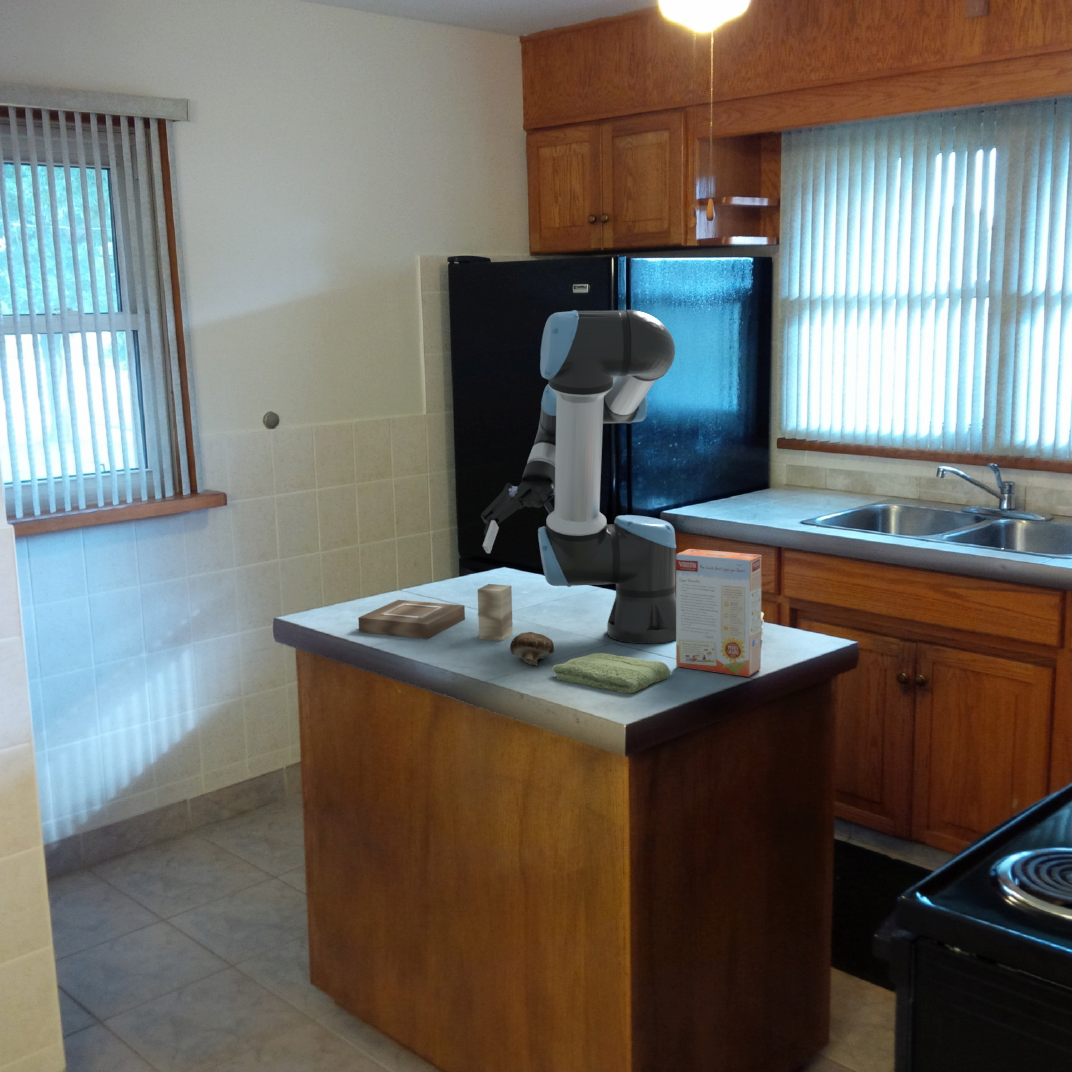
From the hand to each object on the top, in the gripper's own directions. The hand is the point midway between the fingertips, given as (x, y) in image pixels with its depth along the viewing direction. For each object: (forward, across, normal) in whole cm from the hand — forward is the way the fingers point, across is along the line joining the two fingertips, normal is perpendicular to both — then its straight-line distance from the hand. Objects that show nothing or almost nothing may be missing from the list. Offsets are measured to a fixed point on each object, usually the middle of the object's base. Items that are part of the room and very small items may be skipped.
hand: (516, 551), depth 236 cm
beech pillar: (+18, 0, -3) cm, 19 cm away
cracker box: (+23, -47, +1) cm, 52 cm away
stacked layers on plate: (+10, -48, -12) cm, 50 cm away
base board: (+17, +20, -4) cm, 26 cm away
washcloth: (+31, -31, +9) cm, 45 cm away
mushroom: (+28, -14, +7) cm, 32 cm away
